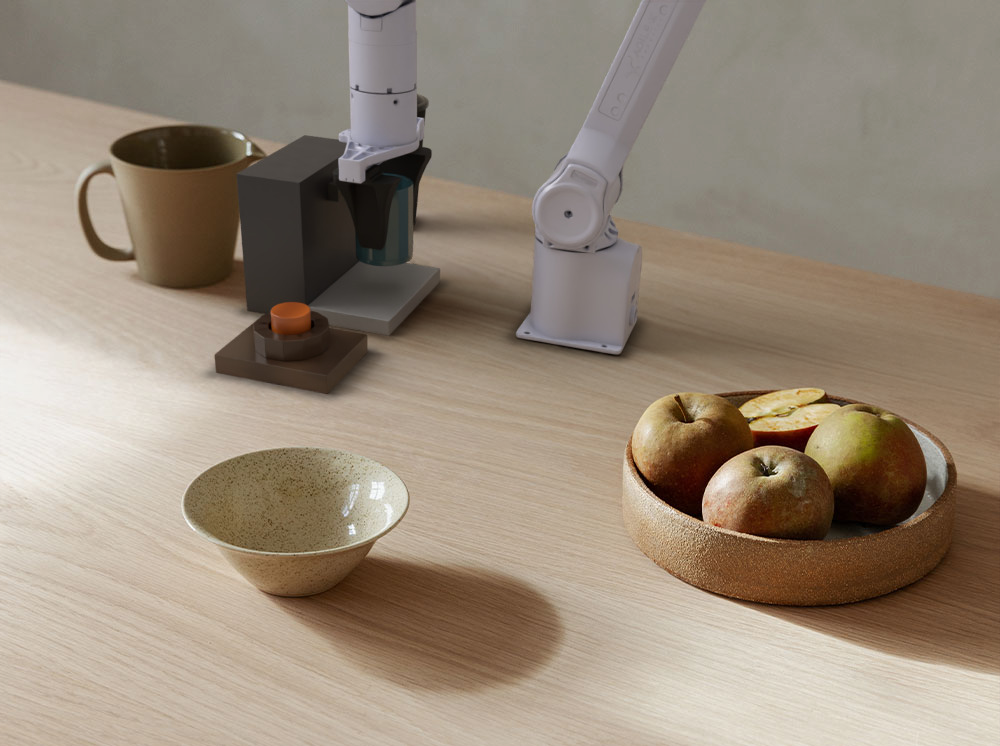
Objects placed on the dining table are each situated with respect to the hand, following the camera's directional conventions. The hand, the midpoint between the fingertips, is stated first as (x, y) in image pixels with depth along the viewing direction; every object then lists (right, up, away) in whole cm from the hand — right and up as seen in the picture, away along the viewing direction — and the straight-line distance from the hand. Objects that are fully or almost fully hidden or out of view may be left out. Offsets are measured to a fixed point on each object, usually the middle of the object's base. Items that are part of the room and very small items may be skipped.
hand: (385, 236), depth 100 cm
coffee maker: (-4, -5, +4) cm, 7 cm away
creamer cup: (0, -2, +1) cm, 2 cm away
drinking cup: (-1, +4, +22) cm, 22 cm away
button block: (-7, -12, -8) cm, 16 cm away
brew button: (-7, -9, -10) cm, 15 cm away
